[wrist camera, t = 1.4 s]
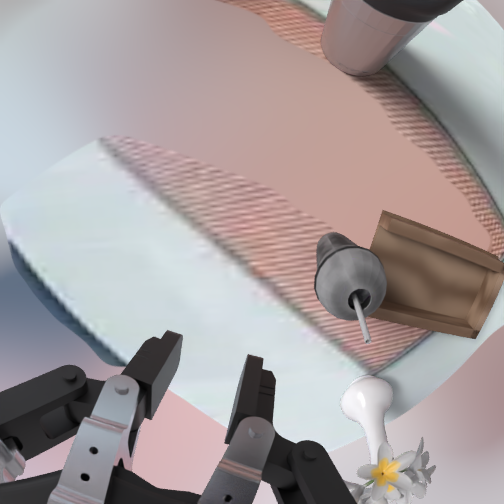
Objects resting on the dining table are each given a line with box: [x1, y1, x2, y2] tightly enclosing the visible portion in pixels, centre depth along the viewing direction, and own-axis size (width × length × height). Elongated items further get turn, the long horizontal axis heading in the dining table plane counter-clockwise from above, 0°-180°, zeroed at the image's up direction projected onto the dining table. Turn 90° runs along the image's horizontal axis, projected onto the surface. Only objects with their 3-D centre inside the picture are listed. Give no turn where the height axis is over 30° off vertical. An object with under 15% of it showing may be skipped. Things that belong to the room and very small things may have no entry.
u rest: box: [368, 210, 504, 339], centre depth 35 cm, size 14×24×4 cm, turn 76°
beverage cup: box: [314, 232, 387, 344], centre depth 28 cm, size 7×7×20 cm
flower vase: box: [340, 375, 436, 504], centre depth 32 cm, size 13×18×25 cm
